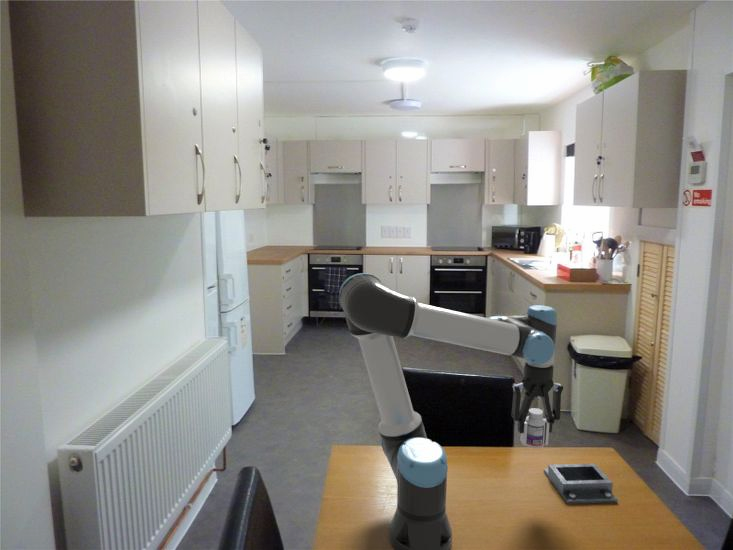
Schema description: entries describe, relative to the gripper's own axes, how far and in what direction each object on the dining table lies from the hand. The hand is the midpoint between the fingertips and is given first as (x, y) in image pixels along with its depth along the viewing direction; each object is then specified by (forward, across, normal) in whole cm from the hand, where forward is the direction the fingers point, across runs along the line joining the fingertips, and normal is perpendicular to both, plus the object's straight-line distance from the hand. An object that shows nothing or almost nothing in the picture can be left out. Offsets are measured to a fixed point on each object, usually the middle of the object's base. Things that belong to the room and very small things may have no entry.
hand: (533, 442), depth 139 cm
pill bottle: (+1, 0, 0) cm, 1 cm away
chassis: (+15, -15, -2) cm, 21 cm away
